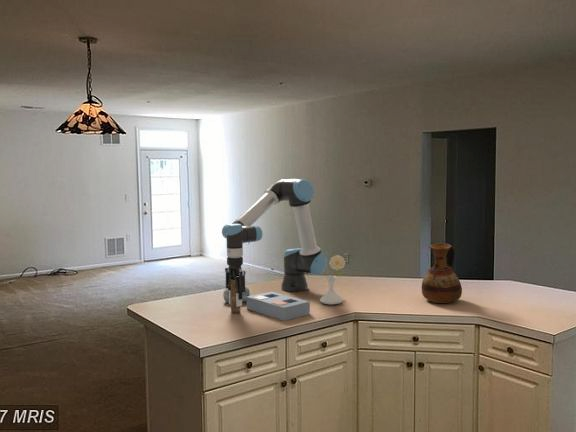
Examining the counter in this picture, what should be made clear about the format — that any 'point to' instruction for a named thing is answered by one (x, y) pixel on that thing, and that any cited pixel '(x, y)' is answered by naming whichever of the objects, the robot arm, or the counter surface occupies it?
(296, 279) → the robot arm
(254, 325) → the counter surface
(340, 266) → the flower in vase
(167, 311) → the counter surface
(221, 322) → the counter surface
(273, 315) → the socket block
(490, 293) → the counter surface
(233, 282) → the peg
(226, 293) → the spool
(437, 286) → the ceramic pitcher
